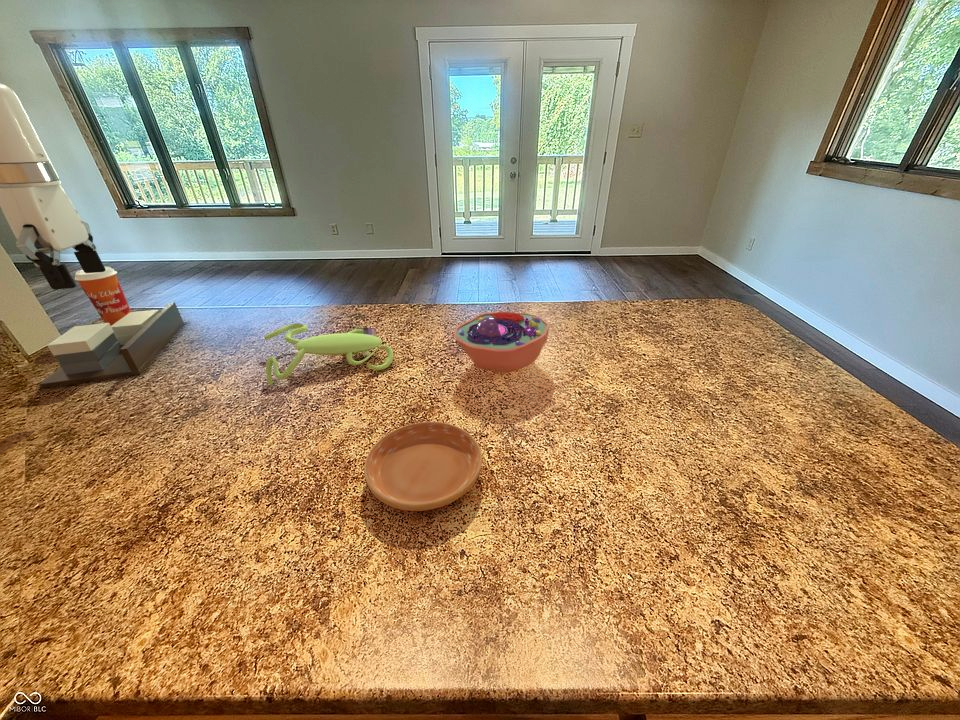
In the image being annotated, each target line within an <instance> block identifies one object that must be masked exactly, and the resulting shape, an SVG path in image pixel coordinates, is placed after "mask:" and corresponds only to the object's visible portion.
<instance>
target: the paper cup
mask: <svg viewBox="0 0 960 720" xmlns="http://www.w3.org/2000/svg"><path fill="white" fill-rule="evenodd" d="M104 267H105V269H106V270H105V271H104V272H97V273H85V272H84V271H83V269H81V270H77V271H76V272H74V273H75V274H74V276H75V277H74V281H77V282H78V284H79V285H80V287H81V289H82V291H83V292H84V294H85V295H86V296H87V298H88V300H89V301H90V303H91V304H92V305H93V307H94V309H95V310H96V312H97V313H98V315H99V316H100V318H101V320H102V321H103V323H109V324H110V326H112V325H113V324H115V323H116V322H117V321H119V320H120V319H122V318H123V317H124V316H126V315H127V314H128V313H130V312H132V309H131V308H130V306H129V302H128V301H127V298H126V295H125V293H124V291H123V288H122V286H121V283H120V281H119V279H118V276H117V274H118V271H116V270H115V269H114V268H112V267H111V266H104Z"/></svg>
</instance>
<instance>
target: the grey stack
mask: <svg viewBox="0 0 960 720" xmlns="http://www.w3.org/2000/svg"><path fill="white" fill-rule="evenodd" d="M121 348H122V346H121V344H120V342H119V341H118V340H117V338H116V337H115V335H114V333H112V334H111V335H110V336H108V337H107V338H106V339H105V340H104V341H102V342H101V343H100V344H99V345H98V346H96V347H95V348H94V349H93V350H92V351H86V352H78V353H70V354H62V355H54V357H55V359H56V360H57V362H58V364H59V366H60V367H61V368H62V369H63V371H64V372H65V374H66V375H69V374H76V373H84V372H91V371H99V370H103V369H104V368H105V367H106V366H107V365H108V364H109V363H110V362H111V361H113V360H114V359H115V358H116V357H117V356H118V355H119V354H120V353H121V351H120V349H121Z"/></svg>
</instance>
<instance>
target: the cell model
mask: <svg viewBox="0 0 960 720" xmlns="http://www.w3.org/2000/svg"><path fill="white" fill-rule="evenodd" d="M549 331H550V324H549V322H547V321H546V320H545V319H543V317H540V316H538V315H534V314H530V313H522V312H521V313H519V312H514V311H505V310H504V311H489V312H483V313H479V314H477V315H475V316H474V317H472V318H470V319H469V320H467V321H464V322H462V323H460V324H459V325H458V326H457V327H456V328H455V329H454V331H453V337H454V339H455V340H456V342H457V343H458V345H459V346H460V348H462V350H463V351H464V353H465V354H466V355H467V356H468V358H469V359H470V360H471V361H472V362H473V364H474V366H475V367H476V368H477V369H479V370H484V371H491V372H496V373H503V374H504V373H505V374H509V373H514V372H517V371H519V370H521V369H523V368H526V367H528V366H530V365H532V364H533V363H534V362H536V361H537V359H538V358H539V356H540V355H541V352H542V350H543V348H544V346H545V345H546V343H547V341H548V338H549Z"/></svg>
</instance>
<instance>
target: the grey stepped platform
mask: <svg viewBox="0 0 960 720" xmlns="http://www.w3.org/2000/svg"><path fill="white" fill-rule="evenodd" d="M159 311H160V312H159V313H158V314H157V315H156V316H155V317H154V318H153V319H152V320H151V321H150V322H148V323H147V324H146V325H145V326H144V327H143V328H142V329H141V330H140V331H139V332H138V333H137V334H136V335H135V336H134V337H132V338H131V339H130V340H129V341H128V342H127V343H126V344H124V345H121V346H122V348H121V349H120V351H121V353H120V354H119V355H118V356H117V357H116V358H115V359H114V360H113V361H111V362H110V363H109V364H108V365H107V366H106V367H105V368H104V369H103V370H99V371H91V372H84V373H76V374H69V375H66V374H65V372H64V371H63V369H62V368H61V366H60V367H58V368H57V369H56V370H55V371H54V372H52V373H51V374H50V375H48V376H47V377H46V378H44V380H42V381H41V382H40V383H39V384H38V385H39V387H40V388H41V389H48V388H55V387H63V386H70V385H76V384H84V383H91V382H97V381H104V380H111V379H118V378H120V379H121V378H125V377H132V376H141V375H142V374H143V373H144V372H145V370H146V369H147V368H148V366H150V364H151V363H152V362H153V361H154V360H155V358H156V357H157V356H158V355H159V354H160V353H161V352H162V351H163V349H165V347H166V346H167V345H168V343H169V342H170V341H171V340H172V339H173V338H174V337H175V336H176V334H177V333H178V332H179V331H180V330H181V328H182V327H183V326H184V325H185V322H184V321H183V318H182V315H181V313H180V311H179V309H178V306H177V304H176V302H174V301H173V302H168V304H166V305H165V306H164V307H163V308H162V309H161V310H159Z"/></svg>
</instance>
